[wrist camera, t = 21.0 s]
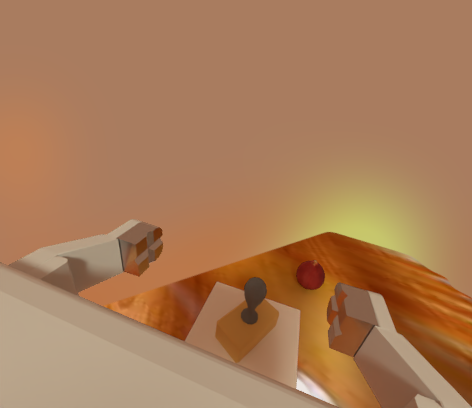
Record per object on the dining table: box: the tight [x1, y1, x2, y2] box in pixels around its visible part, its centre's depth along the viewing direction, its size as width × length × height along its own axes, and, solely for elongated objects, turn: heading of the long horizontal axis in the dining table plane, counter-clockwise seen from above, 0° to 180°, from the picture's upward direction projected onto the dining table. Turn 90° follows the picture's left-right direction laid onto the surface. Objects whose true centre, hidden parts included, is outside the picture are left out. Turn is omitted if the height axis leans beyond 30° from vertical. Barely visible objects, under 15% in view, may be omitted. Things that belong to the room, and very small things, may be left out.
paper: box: [185, 282, 300, 389], centre depth 38 cm, size 18×16×1 cm
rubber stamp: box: [215, 277, 279, 363], centre depth 35 cm, size 10×6×12 cm, turn 133°
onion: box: [296, 260, 325, 290], centre depth 47 cm, size 6×6×8 cm
